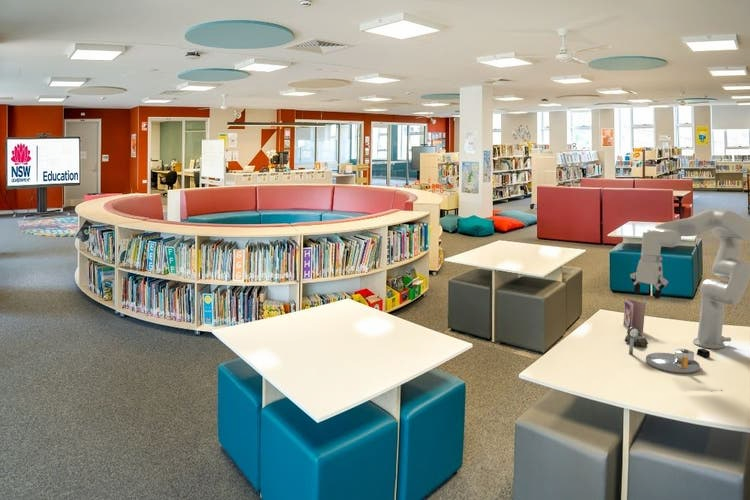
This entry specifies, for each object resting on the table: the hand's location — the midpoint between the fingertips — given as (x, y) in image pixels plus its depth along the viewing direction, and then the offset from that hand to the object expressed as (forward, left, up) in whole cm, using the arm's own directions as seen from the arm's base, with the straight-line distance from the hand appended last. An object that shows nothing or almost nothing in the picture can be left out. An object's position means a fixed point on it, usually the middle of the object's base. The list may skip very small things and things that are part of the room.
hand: (646, 295), depth 243 cm
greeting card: (-13, -32, -27) cm, 44 cm away
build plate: (-23, +9, -27) cm, 37 cm away
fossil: (-2, -8, -27) cm, 28 cm away
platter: (-3, +18, -25) cm, 31 cm away
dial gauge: (+6, +5, -27) cm, 28 cm away
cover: (-8, +18, -24) cm, 31 cm away
